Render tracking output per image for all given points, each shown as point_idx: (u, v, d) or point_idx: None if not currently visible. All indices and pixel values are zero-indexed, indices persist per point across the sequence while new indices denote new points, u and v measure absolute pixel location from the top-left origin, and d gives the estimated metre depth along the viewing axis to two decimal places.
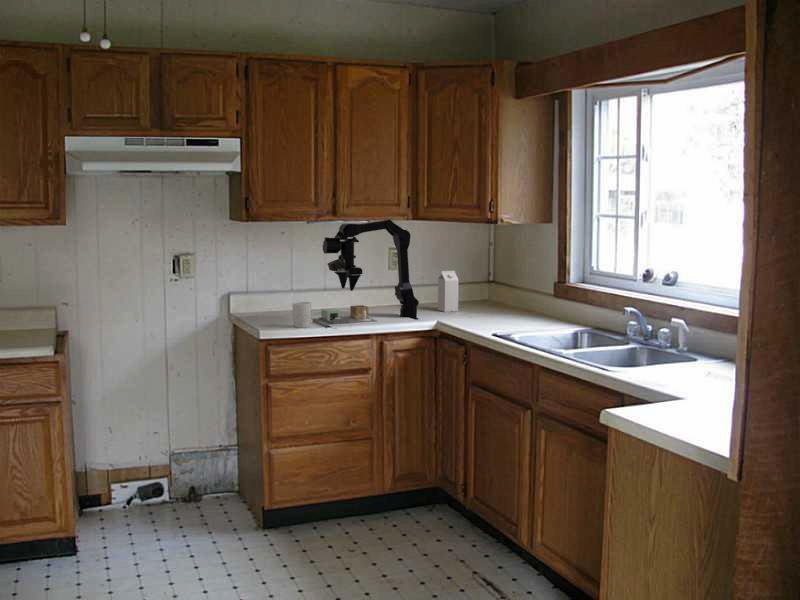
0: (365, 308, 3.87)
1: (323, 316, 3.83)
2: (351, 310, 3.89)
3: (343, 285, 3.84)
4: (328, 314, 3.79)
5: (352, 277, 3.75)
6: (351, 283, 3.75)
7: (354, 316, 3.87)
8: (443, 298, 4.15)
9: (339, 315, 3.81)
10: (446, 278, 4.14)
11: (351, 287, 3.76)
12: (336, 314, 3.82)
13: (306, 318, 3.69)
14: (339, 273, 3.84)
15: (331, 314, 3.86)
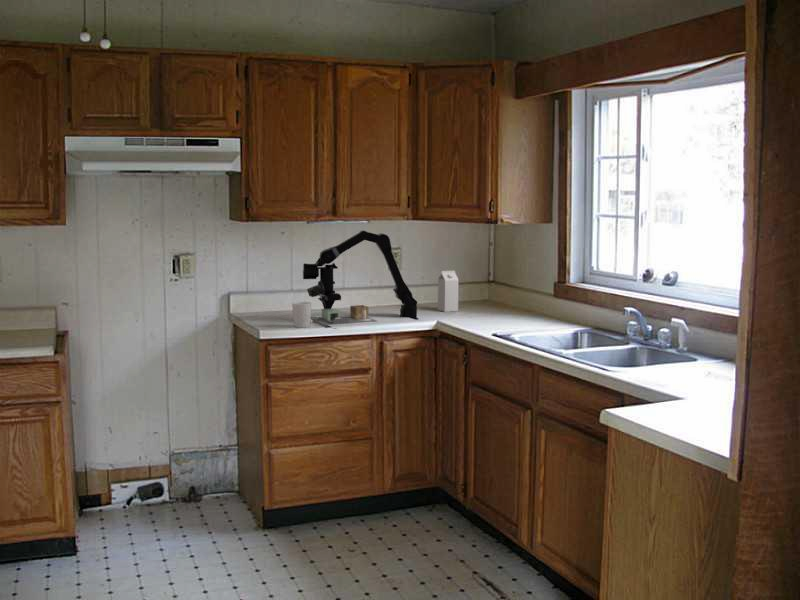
0: (365, 308, 3.87)
1: (323, 316, 3.82)
2: (351, 310, 3.89)
3: None
4: (328, 314, 3.78)
5: (327, 301, 3.85)
6: (327, 307, 3.86)
7: (354, 316, 3.87)
8: (443, 298, 4.15)
9: (339, 315, 3.81)
10: (446, 278, 4.14)
11: None
12: (336, 314, 3.82)
13: (306, 318, 3.69)
14: None
15: (331, 314, 3.85)
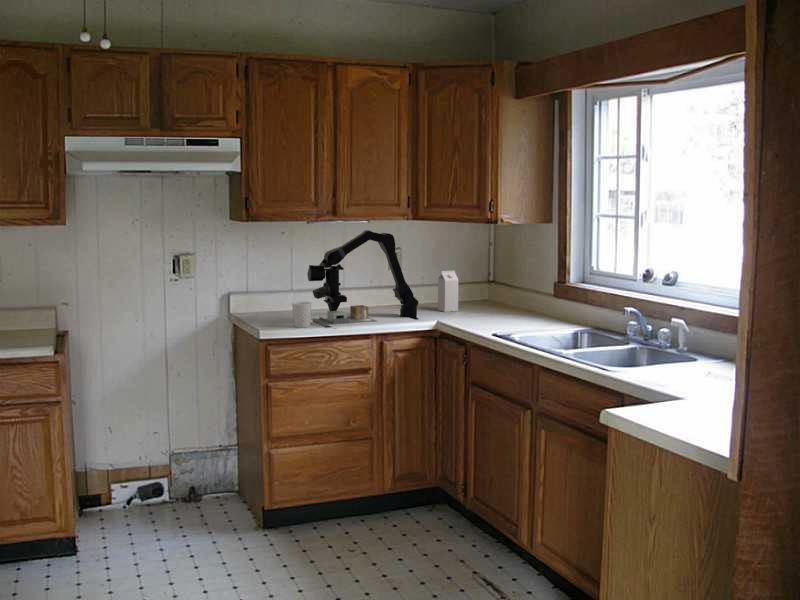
0: (365, 308, 3.87)
1: (329, 318, 3.77)
2: (351, 310, 3.89)
3: None
4: (334, 316, 3.73)
5: (333, 303, 3.79)
6: (332, 309, 3.80)
7: (354, 316, 3.87)
8: (443, 298, 4.15)
9: (345, 317, 3.75)
10: (446, 278, 4.14)
11: None
12: (342, 316, 3.76)
13: (306, 318, 3.69)
14: None
15: (337, 316, 3.80)
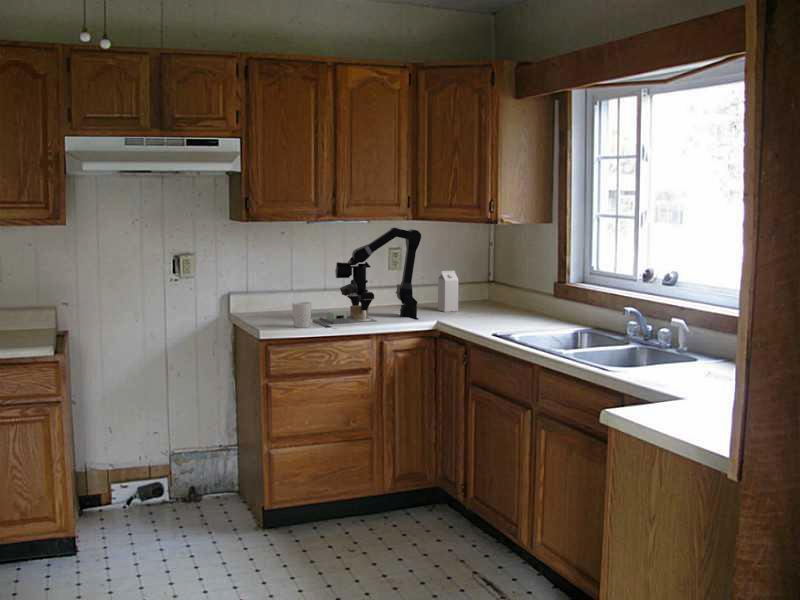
0: None
1: (329, 318, 3.77)
2: (351, 310, 3.89)
3: None
4: (334, 316, 3.72)
5: (364, 301, 3.83)
6: (363, 307, 3.84)
7: (354, 316, 3.87)
8: (443, 298, 4.15)
9: (345, 317, 3.75)
10: (446, 278, 4.14)
11: None
12: (342, 316, 3.76)
13: (306, 318, 3.69)
14: (351, 297, 3.92)
15: (337, 316, 3.80)
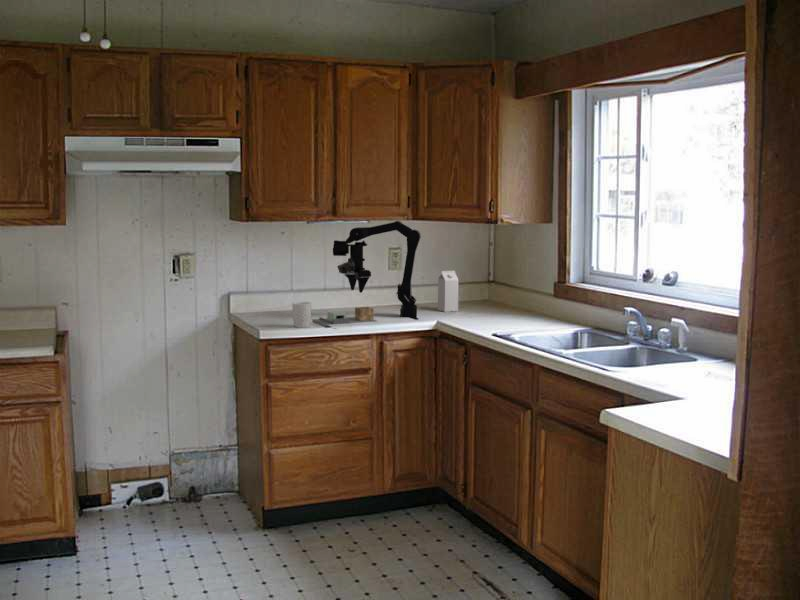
0: (370, 310, 3.81)
1: (329, 318, 3.77)
2: (356, 312, 3.83)
3: (352, 287, 3.98)
4: (334, 316, 3.72)
5: (361, 279, 3.89)
6: (360, 285, 3.89)
7: (359, 318, 3.81)
8: (443, 298, 4.15)
9: (345, 317, 3.75)
10: (446, 278, 4.14)
11: (360, 289, 3.90)
12: (342, 316, 3.76)
13: (306, 318, 3.69)
14: (348, 275, 3.98)
15: (337, 316, 3.80)
